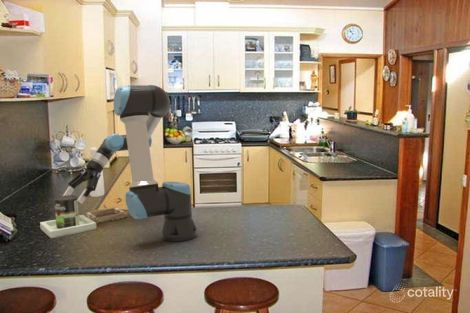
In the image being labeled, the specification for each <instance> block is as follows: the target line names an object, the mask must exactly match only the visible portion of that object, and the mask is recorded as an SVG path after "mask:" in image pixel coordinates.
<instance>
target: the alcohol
mask: <svg viewBox="0 0 470 313" xmlns="http://www.w3.org/2000/svg"><path fill="white" fill-rule="evenodd" d="M89 149H90V150H89V152H90V159H91V158H92V157H93V155H94V154H95V152H96V151H97V150H98V148H97V146H96V147H89ZM100 174H101V176H100V178H99V180H98V183H97V186H96V189H95V191H92V192H90V193H89V196H90V198H100V197H104V195H105V182H104V169H103V170H102V172H101V173H100ZM93 188H94V187H93Z"/></svg>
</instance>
